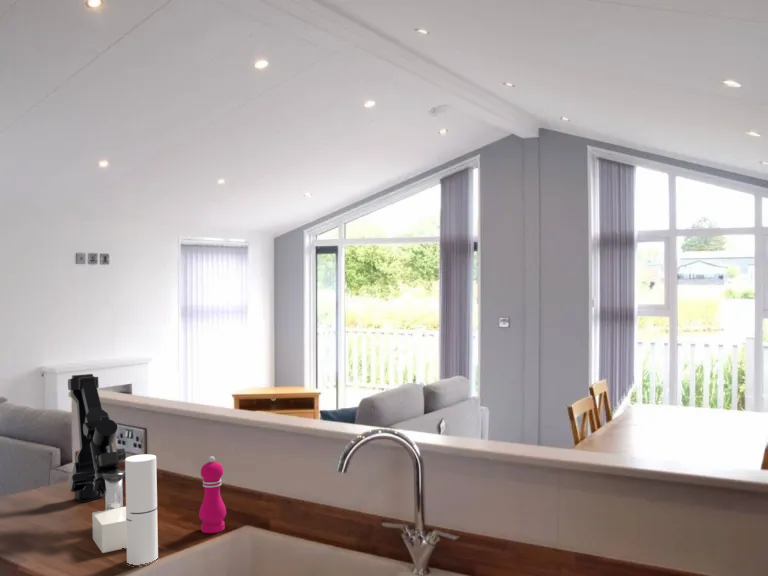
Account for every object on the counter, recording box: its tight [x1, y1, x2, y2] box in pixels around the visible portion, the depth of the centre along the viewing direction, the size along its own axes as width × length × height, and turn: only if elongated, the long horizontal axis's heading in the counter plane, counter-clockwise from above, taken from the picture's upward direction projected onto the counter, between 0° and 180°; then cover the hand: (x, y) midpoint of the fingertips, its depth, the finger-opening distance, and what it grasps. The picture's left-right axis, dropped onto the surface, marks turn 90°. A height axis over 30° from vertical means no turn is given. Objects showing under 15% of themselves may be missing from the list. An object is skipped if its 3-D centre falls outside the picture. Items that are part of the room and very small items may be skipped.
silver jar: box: [103, 469, 125, 510], centre depth 187 cm, size 15×6×16 cm, turn 33°
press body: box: [91, 505, 127, 554], centre depth 184 cm, size 12×12×7 cm
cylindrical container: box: [124, 453, 159, 565], centre depth 170 cm, size 7×7×25 cm
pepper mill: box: [198, 455, 227, 534], centre depth 191 cm, size 7×7×20 cm
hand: (112, 504), depth 193 cm, fingers closed, pressing on silver jar
